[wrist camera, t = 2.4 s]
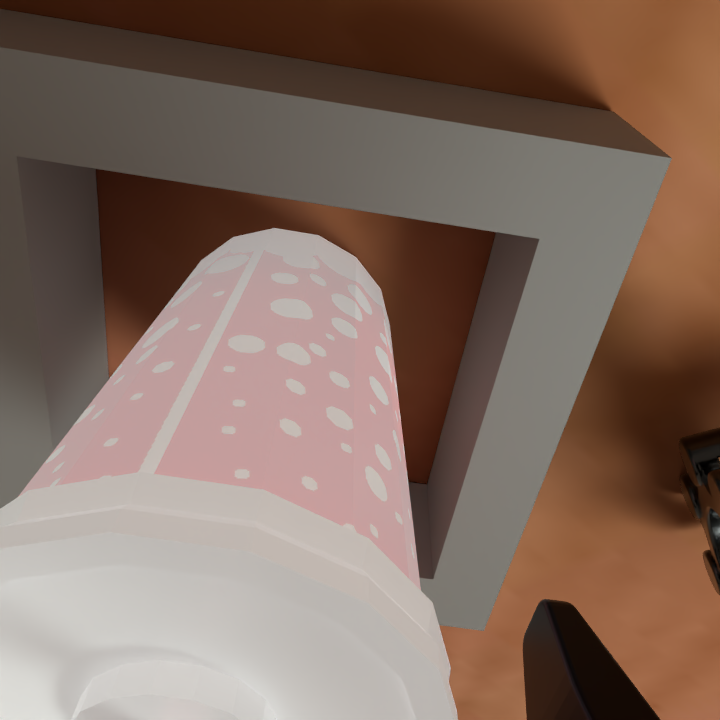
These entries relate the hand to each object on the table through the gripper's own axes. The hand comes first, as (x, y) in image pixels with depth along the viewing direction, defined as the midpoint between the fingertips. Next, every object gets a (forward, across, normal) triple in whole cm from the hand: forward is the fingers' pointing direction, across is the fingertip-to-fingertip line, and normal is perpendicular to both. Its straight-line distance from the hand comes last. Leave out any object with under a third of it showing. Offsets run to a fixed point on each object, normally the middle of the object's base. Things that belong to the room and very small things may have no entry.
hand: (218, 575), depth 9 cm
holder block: (+7, 0, 0) cm, 7 cm away
